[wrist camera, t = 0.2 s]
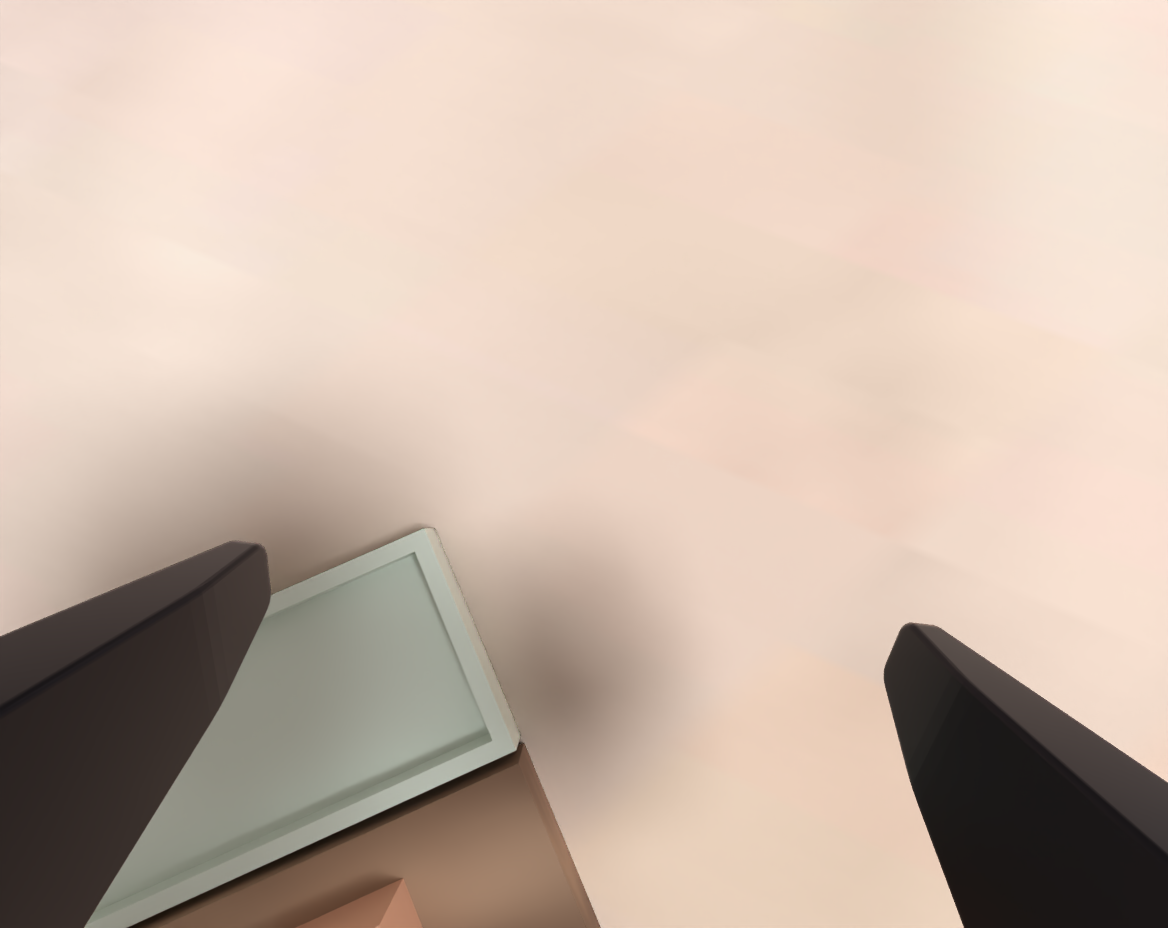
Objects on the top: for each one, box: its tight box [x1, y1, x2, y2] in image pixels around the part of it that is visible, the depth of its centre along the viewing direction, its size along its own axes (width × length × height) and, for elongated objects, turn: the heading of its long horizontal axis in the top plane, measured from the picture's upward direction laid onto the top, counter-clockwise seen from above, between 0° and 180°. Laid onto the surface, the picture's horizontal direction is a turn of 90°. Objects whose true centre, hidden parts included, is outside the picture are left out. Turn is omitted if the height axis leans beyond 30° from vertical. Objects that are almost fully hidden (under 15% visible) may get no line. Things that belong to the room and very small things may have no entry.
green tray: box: [84, 528, 521, 928], centre depth 22 cm, size 8×20×2 cm, turn 114°
